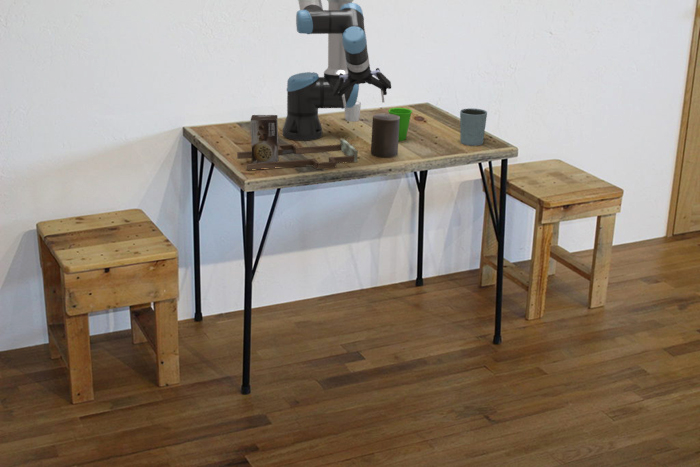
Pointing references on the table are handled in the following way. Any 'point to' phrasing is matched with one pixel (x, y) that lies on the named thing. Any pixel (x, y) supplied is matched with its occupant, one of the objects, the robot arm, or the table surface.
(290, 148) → the trap lane
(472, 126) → the grey plant pot
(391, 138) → the pillar candle
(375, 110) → the table surface
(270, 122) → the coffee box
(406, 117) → the cup
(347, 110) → the white ribbed ramekin
